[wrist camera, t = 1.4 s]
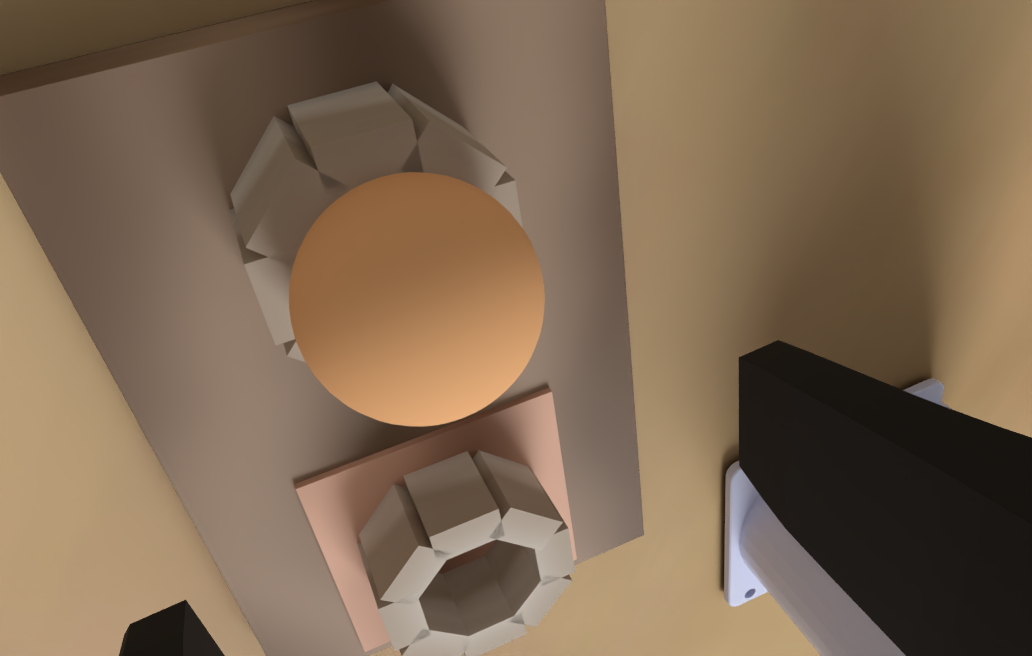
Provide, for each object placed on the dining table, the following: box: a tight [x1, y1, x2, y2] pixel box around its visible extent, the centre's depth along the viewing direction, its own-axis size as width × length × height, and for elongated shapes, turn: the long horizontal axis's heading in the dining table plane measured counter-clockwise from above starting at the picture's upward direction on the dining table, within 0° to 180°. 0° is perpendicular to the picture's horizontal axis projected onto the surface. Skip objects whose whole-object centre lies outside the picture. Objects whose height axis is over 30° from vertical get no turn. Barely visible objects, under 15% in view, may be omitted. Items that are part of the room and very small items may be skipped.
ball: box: [289, 172, 545, 426], centre depth 14 cm, size 4×4×4 cm
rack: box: [0, 0, 644, 656], centre depth 20 cm, size 12×18×4 cm, turn 8°
